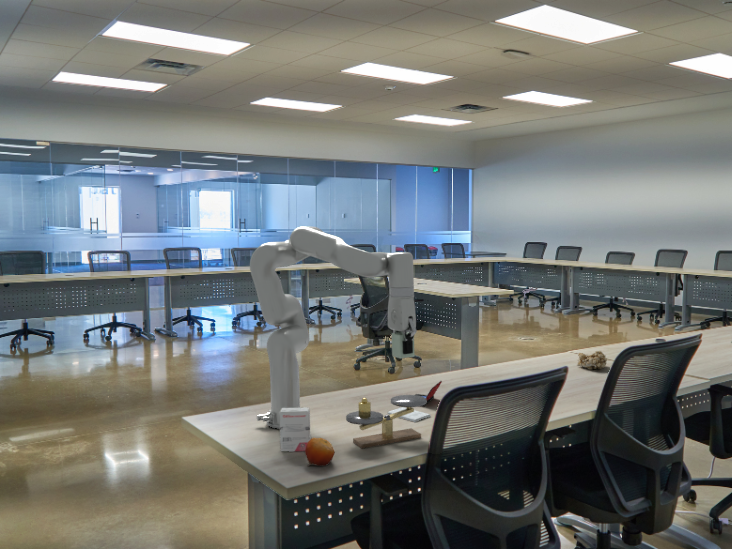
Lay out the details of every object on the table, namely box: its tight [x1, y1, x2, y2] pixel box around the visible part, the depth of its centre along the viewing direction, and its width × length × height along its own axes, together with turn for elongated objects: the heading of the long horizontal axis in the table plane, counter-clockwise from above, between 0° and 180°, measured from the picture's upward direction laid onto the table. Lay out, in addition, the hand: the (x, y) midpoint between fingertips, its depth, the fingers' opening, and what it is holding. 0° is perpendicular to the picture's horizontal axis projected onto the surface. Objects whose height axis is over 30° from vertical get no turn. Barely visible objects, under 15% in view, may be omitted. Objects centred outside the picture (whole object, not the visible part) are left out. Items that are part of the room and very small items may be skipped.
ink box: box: [279, 406, 312, 452], centre depth 176 cm, size 9×5×12 cm, turn 91°
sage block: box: [391, 332, 416, 359], centre depth 184 cm, size 5×5×7 cm
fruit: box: [304, 437, 336, 468], centre depth 164 cm, size 8×8×8 cm
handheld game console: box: [414, 380, 443, 407], centre depth 223 cm, size 12×11×7 cm
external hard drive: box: [387, 407, 431, 423], centre depth 207 cm, size 2×8×12 cm
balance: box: [345, 394, 428, 449], centre depth 182 cm, size 26×11×14 cm, turn 116°
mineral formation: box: [576, 350, 608, 370], centre depth 273 cm, size 8×13×15 cm
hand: (403, 351), depth 185 cm, fingers closed on sage block, 5 cm apart
